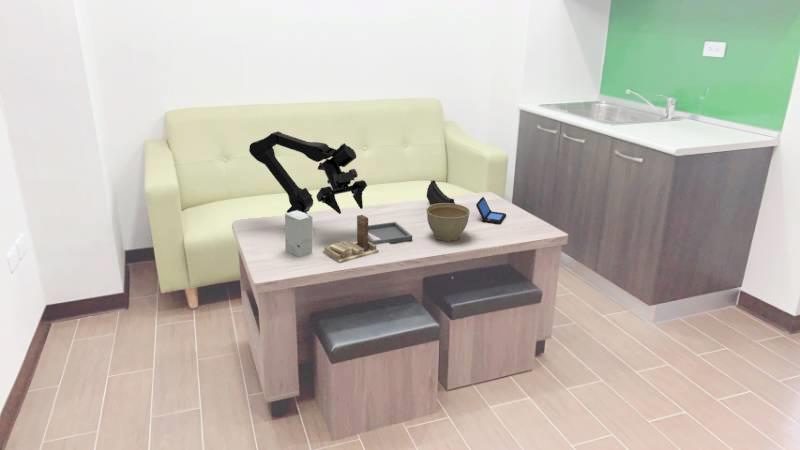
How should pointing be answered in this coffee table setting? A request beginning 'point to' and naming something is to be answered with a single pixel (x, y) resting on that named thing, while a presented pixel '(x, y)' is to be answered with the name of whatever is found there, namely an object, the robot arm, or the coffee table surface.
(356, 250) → the offcut rack
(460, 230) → the planter bowl
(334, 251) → the offcut
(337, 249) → the offcut
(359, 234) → the walnut block
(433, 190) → the black curved fin
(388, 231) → the tray
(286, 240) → the skincare box
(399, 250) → the coffee table surface
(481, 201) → the handheld game console
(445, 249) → the coffee table surface
